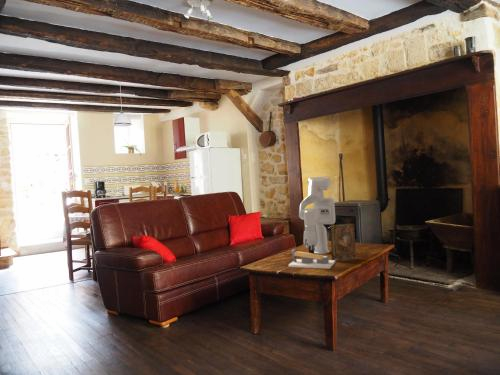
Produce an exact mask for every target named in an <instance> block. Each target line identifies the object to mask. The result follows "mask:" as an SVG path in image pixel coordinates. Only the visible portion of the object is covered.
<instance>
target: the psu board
mask: <svg viewBox="0 0 500 375" xmlns="http://www.w3.org/2000/svg"><path fill="white" fill-rule="evenodd" d="M300 257H301V256H300ZM292 258H293V261H291V262H289V264H288V268H301V269H302V268H305V269H306V268H307V269H327V270H328V269H331V268H332V267H333V266H334V264H335V263H336V261H335V260H332V259H329V256H327V255H323V259H321V260H319V259H313V258H307V257H301V258H297V257H292Z"/></svg>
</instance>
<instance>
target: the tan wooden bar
mask: <svg viewBox="0 0 500 375" xmlns="http://www.w3.org/2000/svg"><path fill="white" fill-rule="evenodd" d="M323 256H324V254H316V253H314V254H313V253H309V252H306V251H298V249H297V248H296V249H295V248H293V249H291V257H292V258H293V257H296V258H297V257H307V258H313V260H317V259H319V260H321V259H323Z"/></svg>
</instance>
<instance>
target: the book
mask: <svg viewBox="0 0 500 375" xmlns="http://www.w3.org/2000/svg"><path fill="white" fill-rule="evenodd" d="M330 247H331V250H330V251H331V260H335V263H338V262H347V261H356V259H357V253H356V252H357V251H356V233H355V223H344V224H343V223H342V224H341V223H340V224H330Z"/></svg>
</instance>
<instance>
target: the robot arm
mask: <svg viewBox="0 0 500 375" xmlns="http://www.w3.org/2000/svg"><path fill="white" fill-rule="evenodd" d="M306 183H307V195H306V197H304V199H303V200H302V201H301V202H300V205H299V210H298V218H300V219H301V220H303V221H304V231H303V246H305V248H306V249H308V253H313V254H319V255H325V254H329V253H330V251H331V250H329V249H328V234H327V232H328V231H327V228H326V226H325V225H335V223H336V209H335V208H336V207H335V206H336V205H335V200H334V199H333V198H332V197H325V192H324V191H328V190H329V189H330V187H331V184H332V183H331V178H330V177H329V176H317V177H316V176H313V177H309V178H308V179H307V181H306ZM311 204H313V205H312V206H313V208H306V207H307V206H309V205H311Z"/></svg>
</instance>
